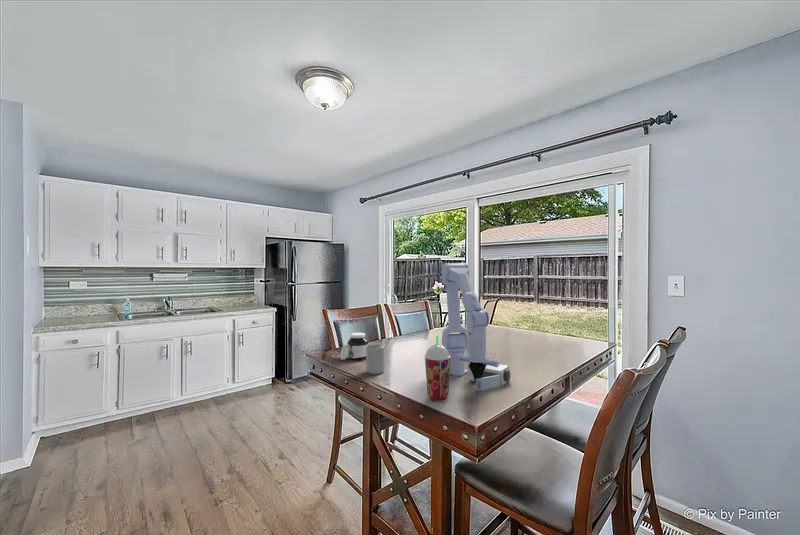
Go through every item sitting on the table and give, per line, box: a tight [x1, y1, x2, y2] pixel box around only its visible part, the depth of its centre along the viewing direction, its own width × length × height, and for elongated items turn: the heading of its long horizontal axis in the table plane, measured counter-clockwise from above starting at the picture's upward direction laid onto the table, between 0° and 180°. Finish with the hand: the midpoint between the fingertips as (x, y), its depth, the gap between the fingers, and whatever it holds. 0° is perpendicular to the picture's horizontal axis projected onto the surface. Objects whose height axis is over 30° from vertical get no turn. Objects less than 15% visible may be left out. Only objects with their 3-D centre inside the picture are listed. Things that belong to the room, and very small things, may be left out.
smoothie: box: [424, 335, 451, 402], centre depth 110 cm, size 8×8×20 cm
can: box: [365, 341, 386, 375], centre depth 139 cm, size 8×8×12 cm
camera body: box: [469, 363, 511, 387], centre depth 127 cm, size 13×8×6 cm, turn 54°
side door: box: [475, 374, 503, 392], centre depth 117 cm, size 11×2×4 cm, turn 116°
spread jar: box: [340, 332, 369, 361], centre depth 160 cm, size 12×11×12 cm
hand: (477, 384), depth 118 cm, fingers closed
